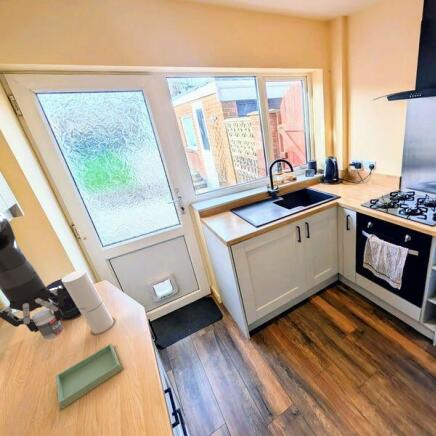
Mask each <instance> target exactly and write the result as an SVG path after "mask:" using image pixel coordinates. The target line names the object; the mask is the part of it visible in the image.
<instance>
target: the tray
mask: <svg viewBox="0 0 436 436" xmlns="http://www.w3.org/2000/svg"><path fill="white" fill-rule="evenodd" d="M122 370H123V368H122V366H121V363H120V360H119V357H118V355H117V352H116V350H115V348H114V346H113V344H112V343H109V344H107V345H105V346H104V347H102V348H100V349H99V350H97V351H94V353H92V354H90V355H88V356H87V357H85V358H83V359H81V360H80V361H78V362H76V363H74V364H73V365H70V366H69V367H68V368H66V369H64V370H63V371H61V372H59V373H58V374H56V375H55V382H56V383H55V384H56V392H57V393H56V394H57V402H58V405H59V406H60V408H62V409H64V408H66V407H67V406H69V405H71V404H72V403H73V402H75V401H77V400H79V398H81V397H83V396H84V395H86V394H88V393H89V392H90V391H92V390H93V389H95V388H97V387H98V386H100V385H101V384H103V383H104V382H106V381H107V380H109V379H110V378H111V377H113V376H115V375H116V374H118V373H119V372H121V371H122Z"/></svg>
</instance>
